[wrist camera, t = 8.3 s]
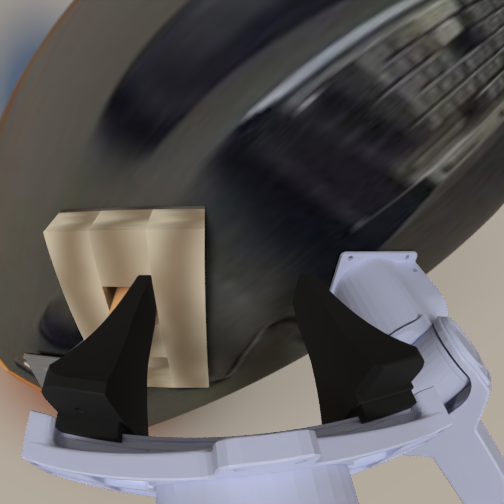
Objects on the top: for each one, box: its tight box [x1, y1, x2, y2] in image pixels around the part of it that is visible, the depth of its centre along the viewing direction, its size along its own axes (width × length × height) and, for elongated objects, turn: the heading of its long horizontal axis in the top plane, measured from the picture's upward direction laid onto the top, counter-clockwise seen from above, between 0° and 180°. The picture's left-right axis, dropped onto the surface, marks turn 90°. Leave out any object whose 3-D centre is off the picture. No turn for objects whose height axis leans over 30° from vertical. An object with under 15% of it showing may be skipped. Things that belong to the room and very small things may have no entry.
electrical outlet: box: [24, 353, 61, 387], centre depth 31 cm, size 13×10×2 cm
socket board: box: [43, 206, 209, 388], centre depth 24 cm, size 12×20×4 cm, turn 175°
